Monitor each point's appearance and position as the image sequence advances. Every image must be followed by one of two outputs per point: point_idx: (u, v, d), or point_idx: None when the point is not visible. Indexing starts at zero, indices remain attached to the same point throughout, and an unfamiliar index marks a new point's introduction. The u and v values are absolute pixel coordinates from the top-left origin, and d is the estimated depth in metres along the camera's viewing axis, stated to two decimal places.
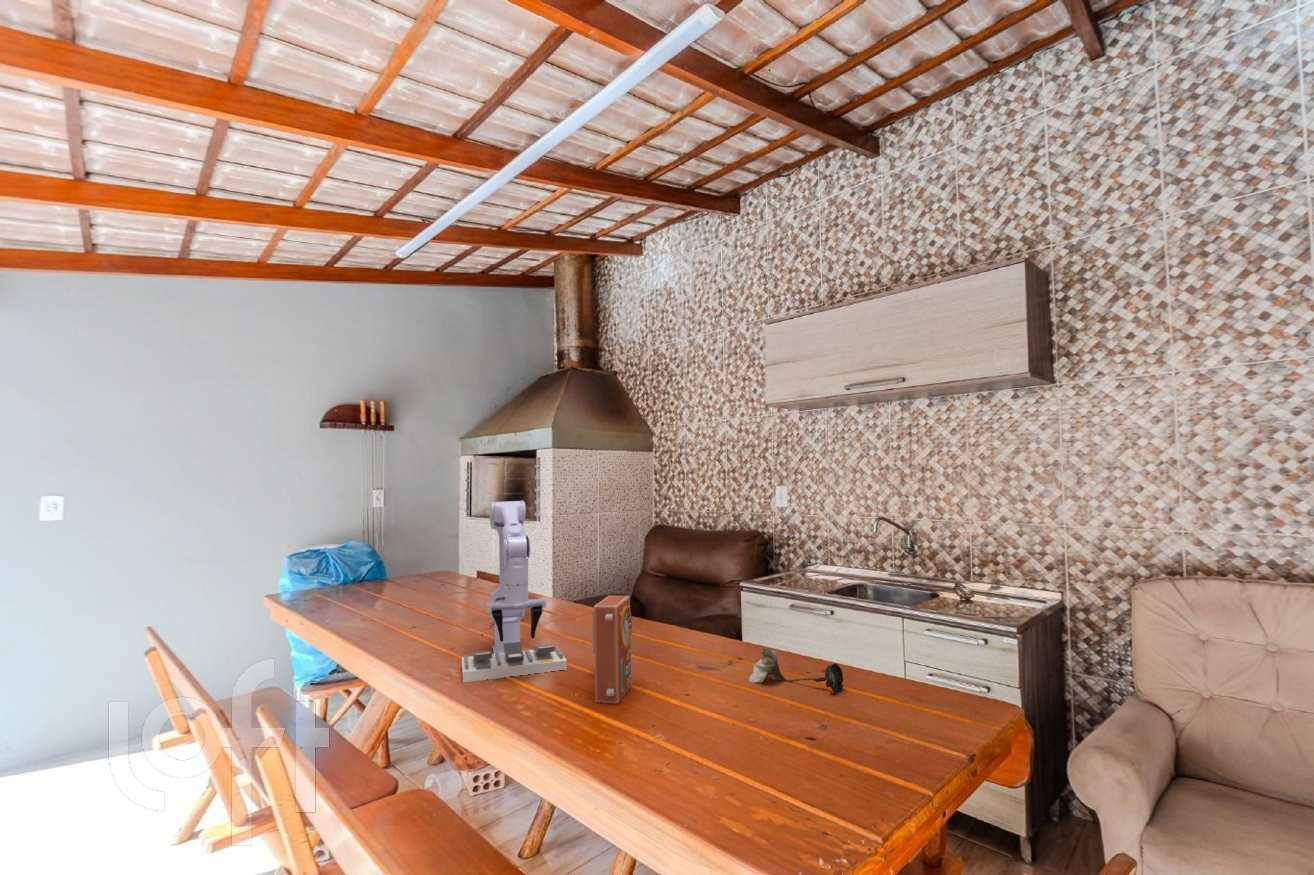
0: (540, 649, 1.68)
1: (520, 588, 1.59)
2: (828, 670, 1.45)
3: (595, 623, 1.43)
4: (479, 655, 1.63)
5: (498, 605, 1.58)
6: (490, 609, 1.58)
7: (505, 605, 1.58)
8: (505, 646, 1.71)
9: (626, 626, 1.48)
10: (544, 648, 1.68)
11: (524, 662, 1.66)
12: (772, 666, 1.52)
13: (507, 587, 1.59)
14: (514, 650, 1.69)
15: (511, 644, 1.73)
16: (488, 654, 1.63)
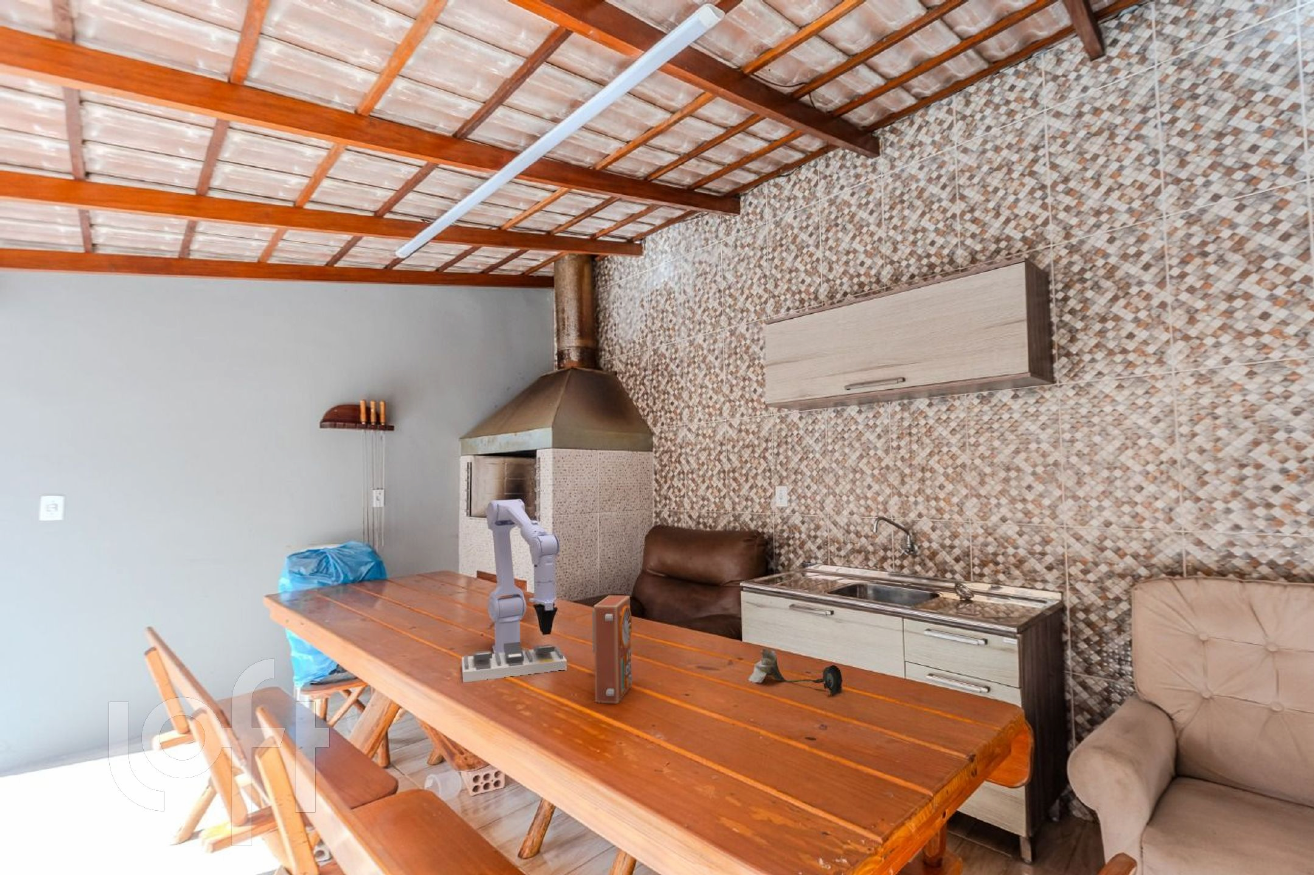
0: (540, 649, 1.68)
1: (534, 585, 1.68)
2: (826, 671, 1.44)
3: (595, 623, 1.43)
4: (479, 655, 1.63)
5: None
6: None
7: None
8: (505, 646, 1.71)
9: (626, 626, 1.48)
10: (544, 648, 1.68)
11: (524, 662, 1.66)
12: (771, 667, 1.51)
13: None
14: (514, 650, 1.69)
15: (511, 644, 1.73)
16: (488, 654, 1.63)
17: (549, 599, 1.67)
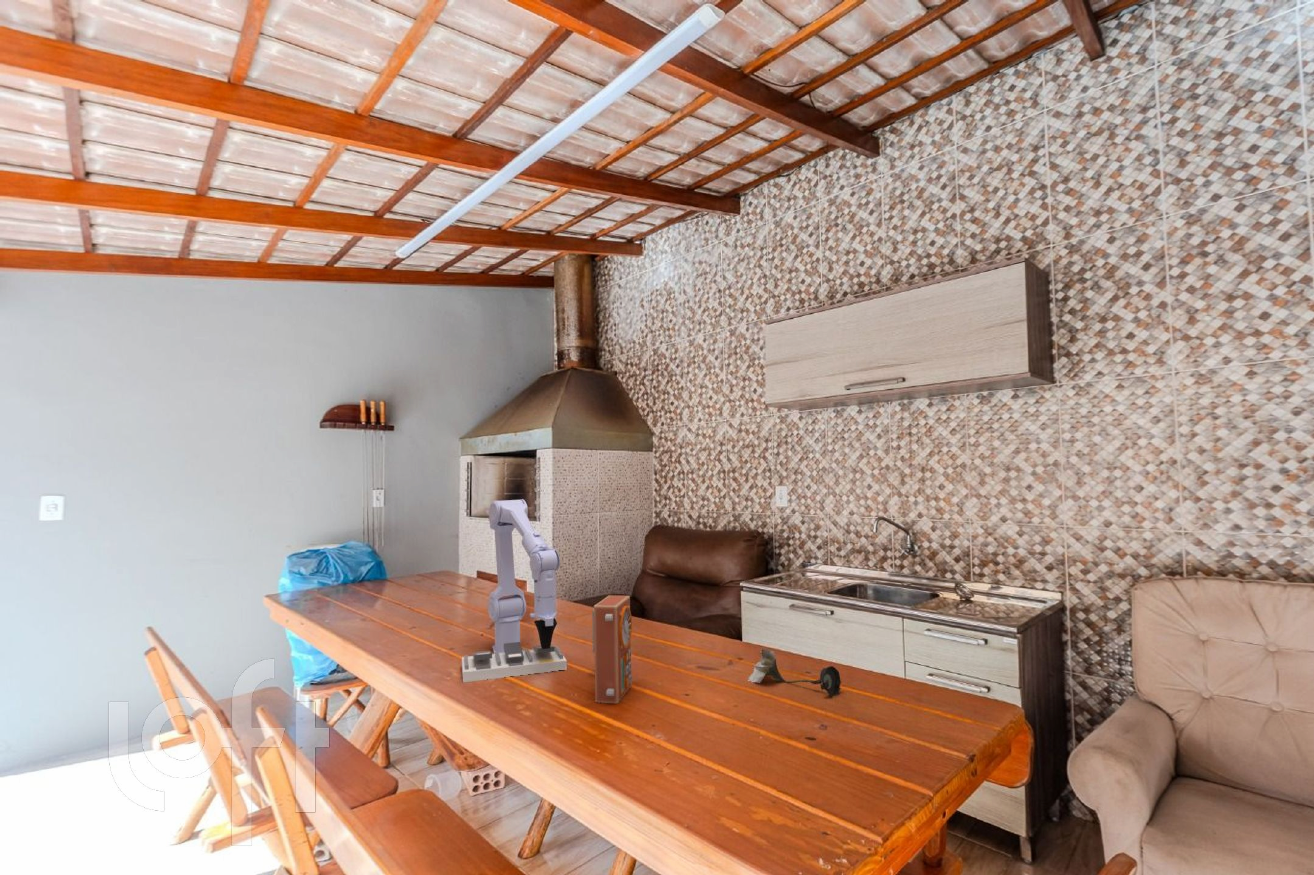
0: (540, 649, 1.68)
1: (534, 600, 1.68)
2: (823, 672, 1.43)
3: (595, 623, 1.43)
4: (479, 655, 1.63)
5: None
6: None
7: None
8: (505, 646, 1.71)
9: (626, 626, 1.48)
10: None
11: (524, 662, 1.66)
12: (769, 667, 1.51)
13: None
14: (514, 650, 1.69)
15: (511, 644, 1.73)
16: (488, 654, 1.63)
17: (549, 614, 1.67)
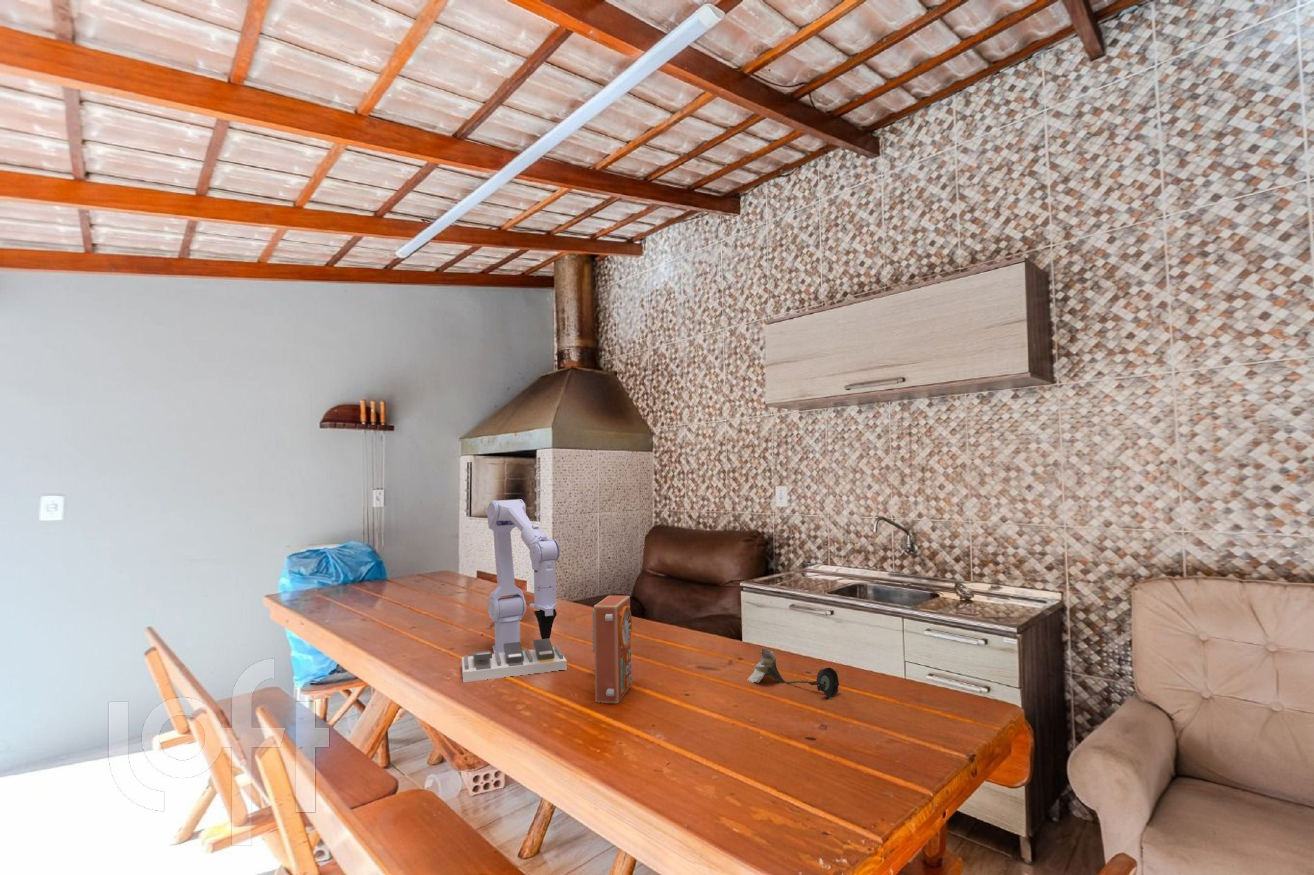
0: (540, 656, 1.67)
1: (534, 590, 1.68)
2: (820, 674, 1.42)
3: (595, 623, 1.43)
4: (479, 655, 1.63)
5: None
6: None
7: None
8: (505, 646, 1.71)
9: (626, 626, 1.48)
10: (544, 655, 1.68)
11: (524, 662, 1.66)
12: (768, 667, 1.51)
13: None
14: (514, 650, 1.69)
15: (511, 644, 1.73)
16: (488, 654, 1.63)
17: (549, 604, 1.67)
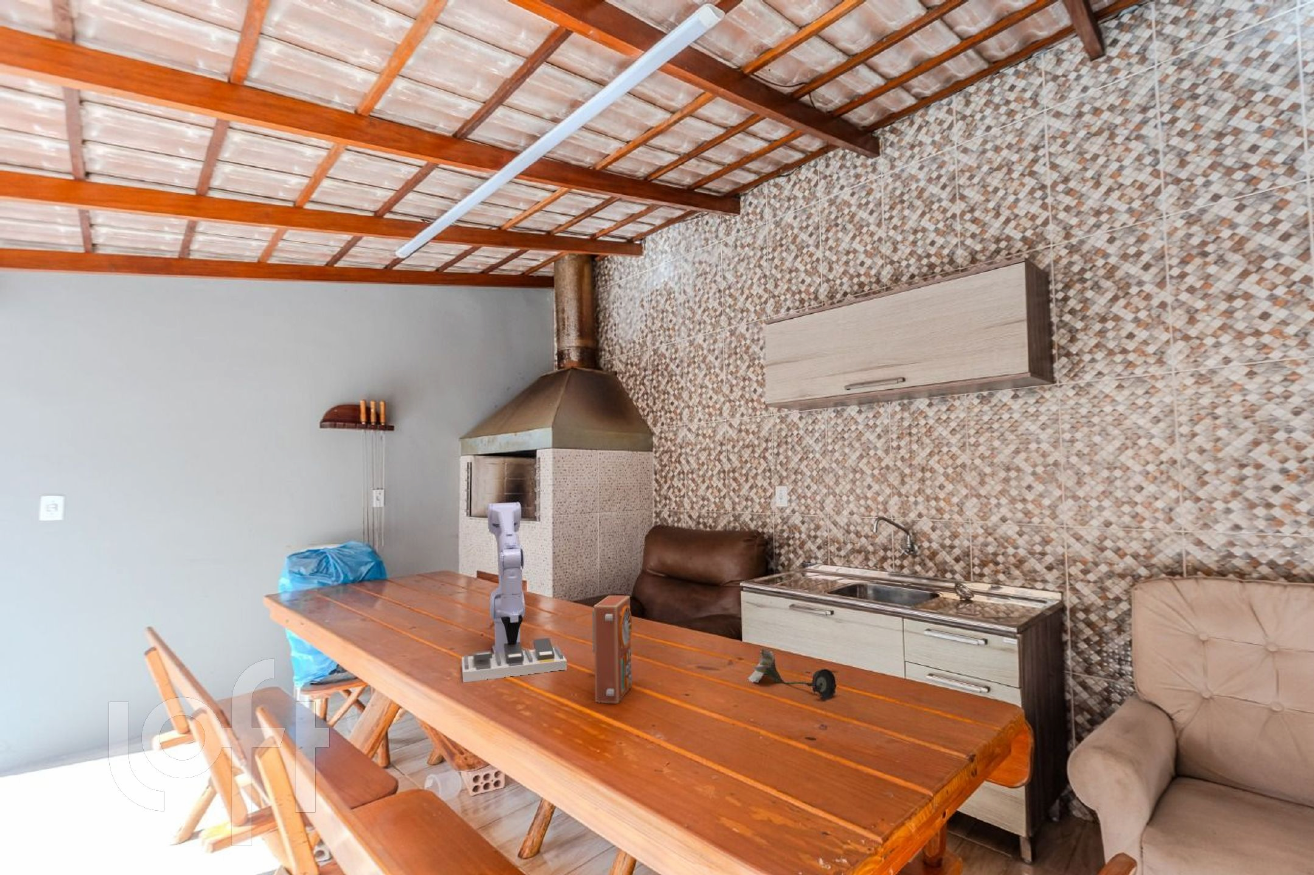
0: (540, 656, 1.67)
1: (501, 597, 1.72)
2: (815, 675, 1.41)
3: (595, 623, 1.43)
4: (479, 655, 1.63)
5: None
6: None
7: None
8: (505, 646, 1.71)
9: (626, 626, 1.48)
10: (544, 655, 1.68)
11: (524, 662, 1.66)
12: (766, 667, 1.51)
13: None
14: (514, 650, 1.69)
15: None
16: (488, 654, 1.63)
17: (515, 611, 1.71)
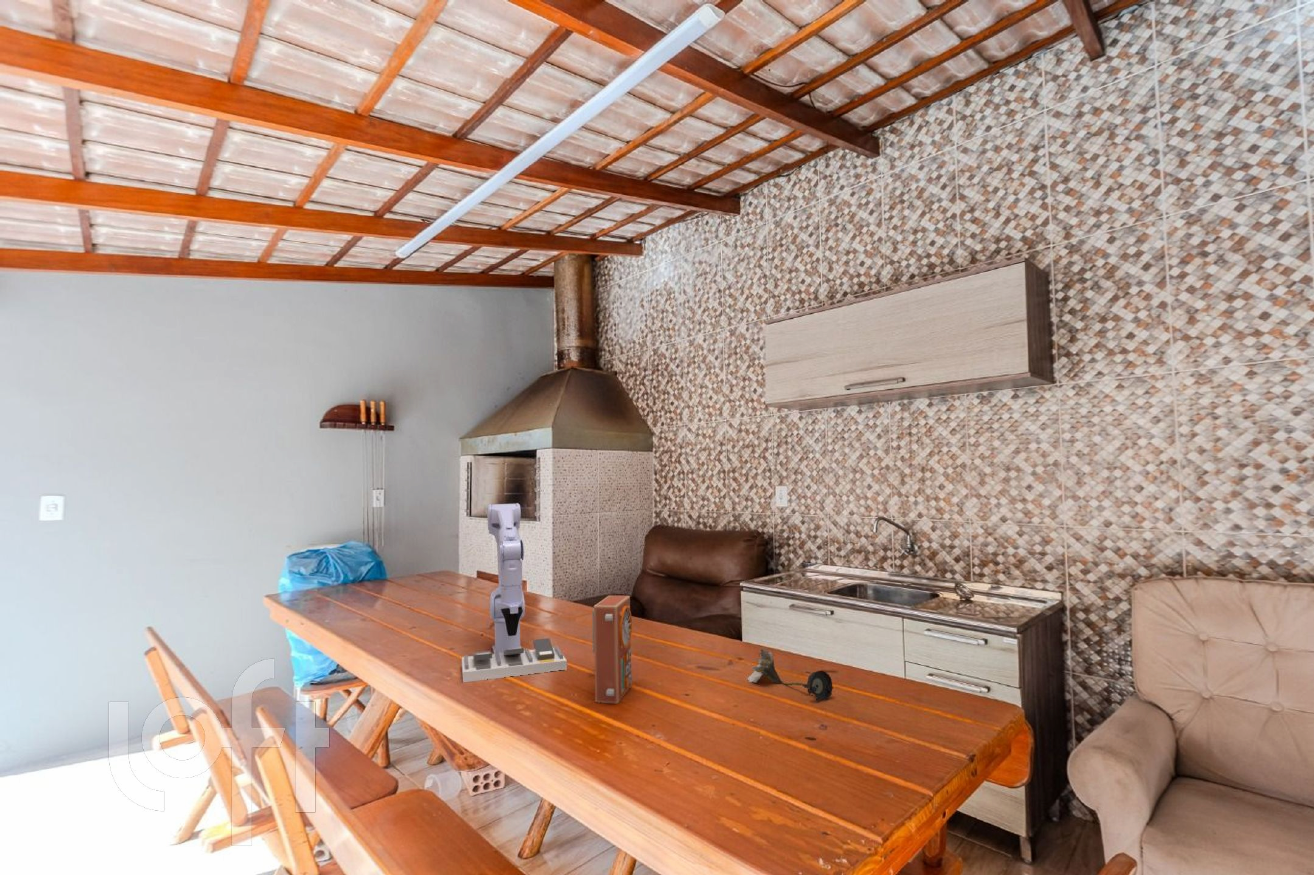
0: (540, 656, 1.67)
1: (501, 588, 1.73)
2: (811, 676, 1.41)
3: (595, 623, 1.43)
4: (479, 655, 1.63)
5: None
6: None
7: None
8: None
9: (626, 626, 1.48)
10: (544, 655, 1.68)
11: (524, 662, 1.66)
12: (764, 667, 1.51)
13: None
14: None
15: None
16: (488, 654, 1.63)
17: (515, 602, 1.71)
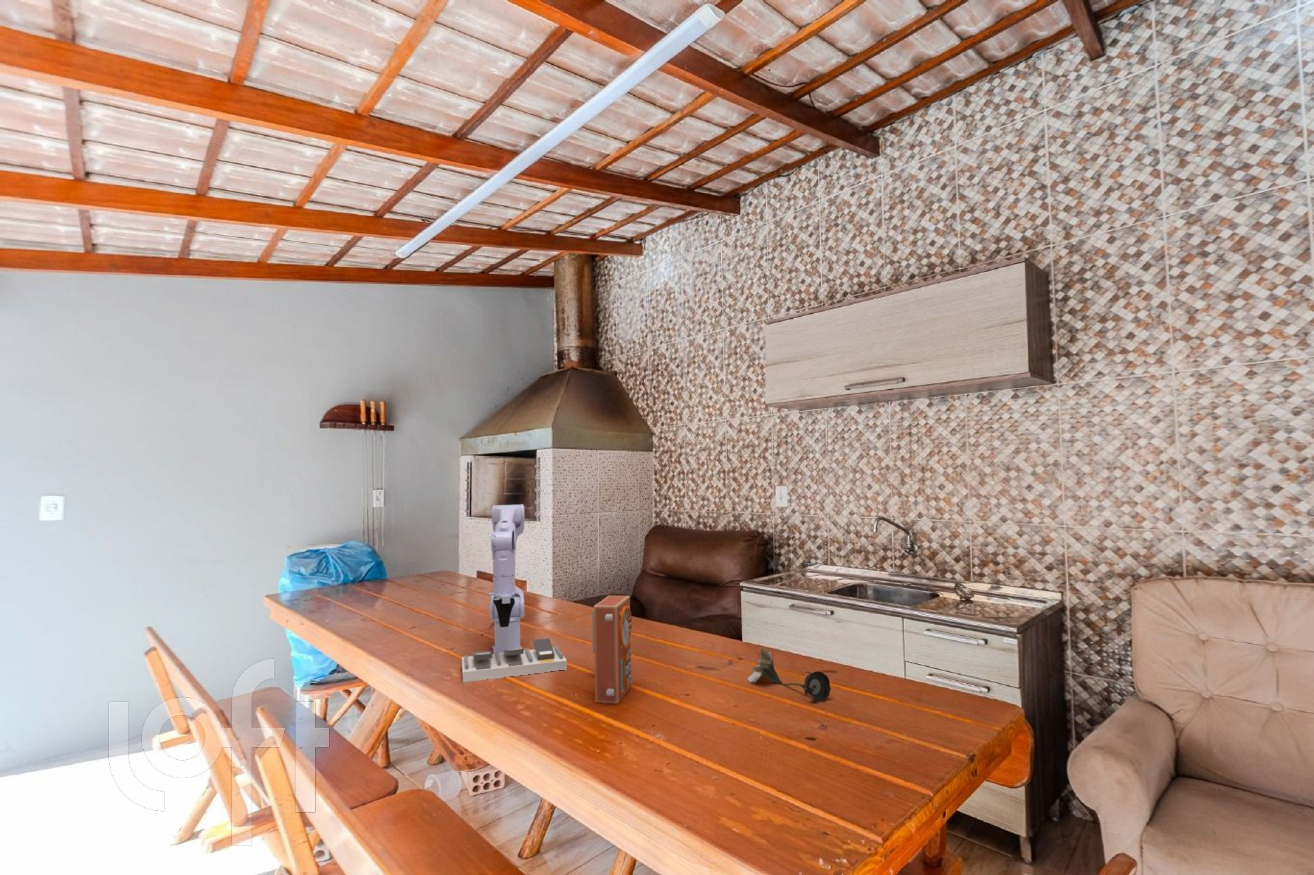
0: (540, 656, 1.67)
1: (493, 579, 1.72)
2: (808, 677, 1.40)
3: (595, 623, 1.43)
4: (479, 655, 1.63)
5: None
6: None
7: None
8: None
9: (626, 626, 1.48)
10: (544, 655, 1.68)
11: (524, 662, 1.66)
12: (763, 667, 1.51)
13: None
14: None
15: None
16: (488, 654, 1.63)
17: (507, 593, 1.71)
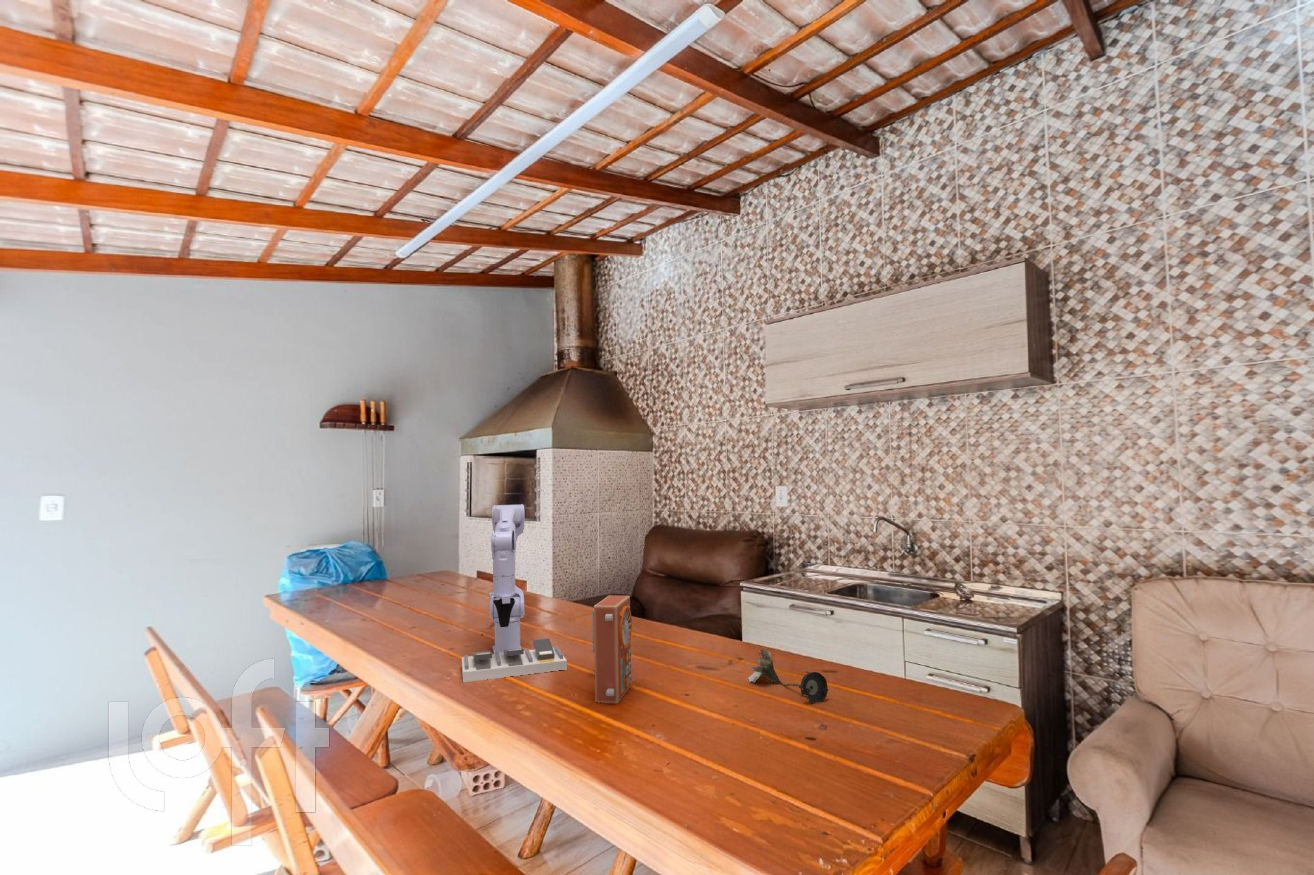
0: (540, 656, 1.67)
1: (493, 579, 1.72)
2: (804, 677, 1.40)
3: (595, 623, 1.43)
4: (479, 655, 1.63)
5: None
6: None
7: None
8: None
9: (626, 626, 1.48)
10: (544, 655, 1.68)
11: (524, 662, 1.66)
12: (762, 667, 1.51)
13: None
14: None
15: (511, 649, 1.73)
16: (488, 654, 1.63)
17: (507, 593, 1.71)
